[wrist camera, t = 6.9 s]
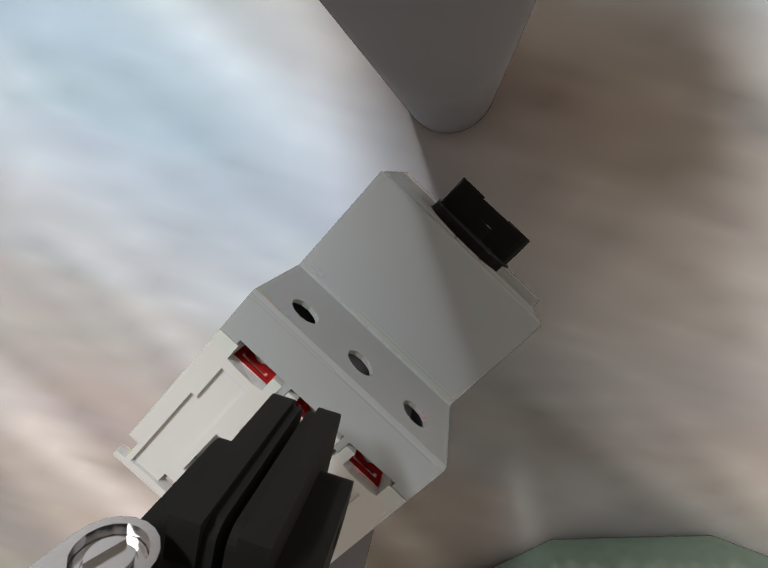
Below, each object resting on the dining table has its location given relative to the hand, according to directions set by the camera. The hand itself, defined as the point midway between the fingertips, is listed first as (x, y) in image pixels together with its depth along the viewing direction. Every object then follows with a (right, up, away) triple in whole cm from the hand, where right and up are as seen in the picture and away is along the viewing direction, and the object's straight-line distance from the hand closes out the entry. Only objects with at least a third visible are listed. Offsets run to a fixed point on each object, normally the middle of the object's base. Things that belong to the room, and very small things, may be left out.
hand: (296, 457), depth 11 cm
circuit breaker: (+3, +4, +17) cm, 18 cm away
